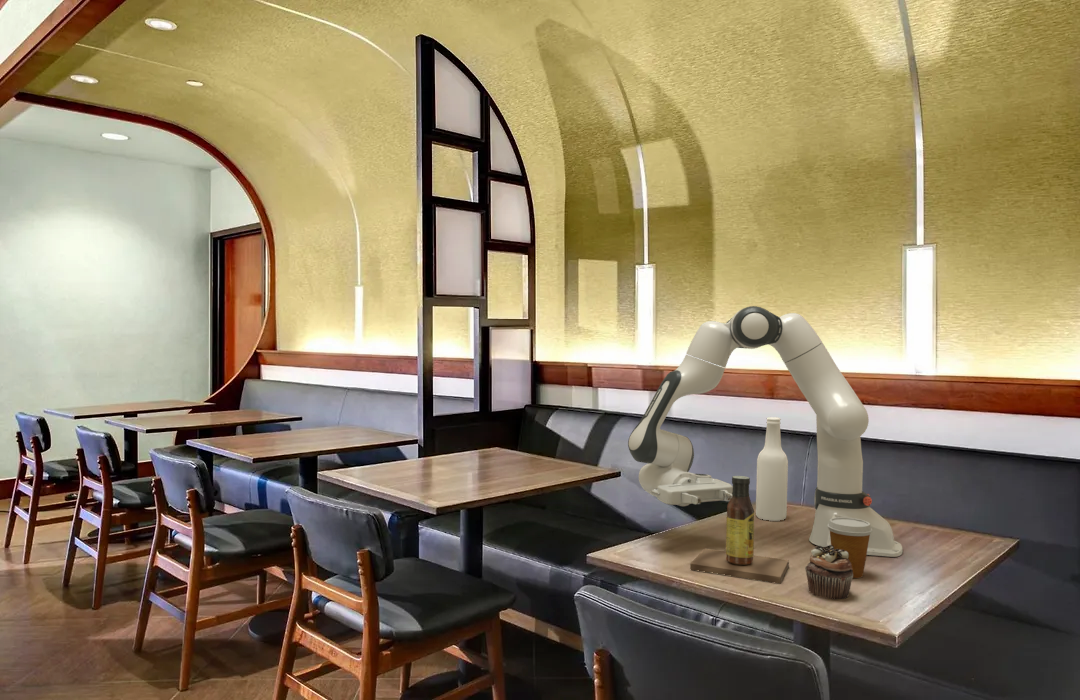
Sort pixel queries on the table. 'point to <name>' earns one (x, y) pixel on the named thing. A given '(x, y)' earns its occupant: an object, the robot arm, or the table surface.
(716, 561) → the walnut board
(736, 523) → the sauce bottle
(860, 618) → the table surface
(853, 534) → the disposable coffee cup
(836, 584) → the cupcake
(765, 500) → the alcohol
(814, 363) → the robot arm
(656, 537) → the table surface
